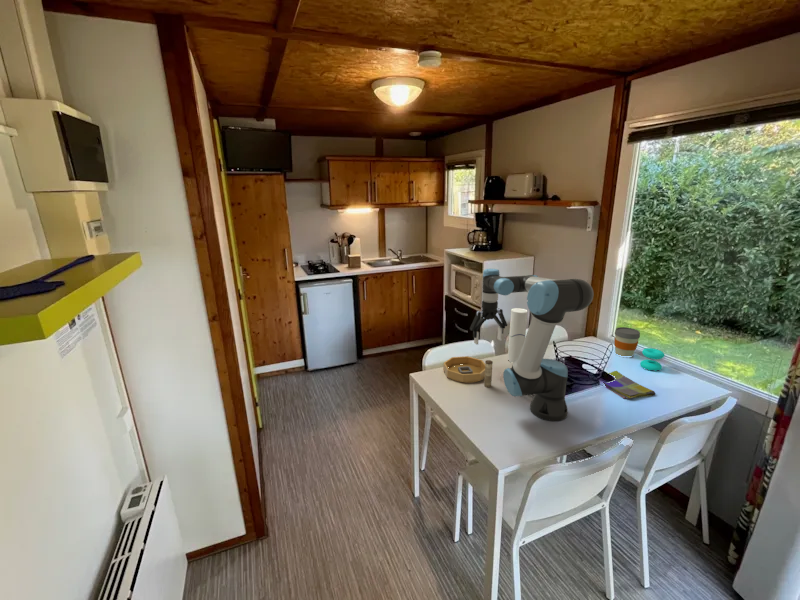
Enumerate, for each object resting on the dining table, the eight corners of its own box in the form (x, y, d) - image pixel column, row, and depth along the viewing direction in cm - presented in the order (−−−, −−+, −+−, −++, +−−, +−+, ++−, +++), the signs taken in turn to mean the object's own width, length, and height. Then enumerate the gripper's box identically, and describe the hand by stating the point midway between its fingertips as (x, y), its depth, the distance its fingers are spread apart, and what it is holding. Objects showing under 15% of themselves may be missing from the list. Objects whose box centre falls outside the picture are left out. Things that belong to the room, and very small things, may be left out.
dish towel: (616, 373, 198) (617, 369, 197) (658, 396, 175) (659, 391, 174) (588, 378, 194) (589, 373, 193) (627, 402, 171) (628, 396, 170)
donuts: (647, 345, 207) (667, 351, 199) (644, 362, 210) (664, 368, 202) (639, 350, 201) (660, 356, 194) (636, 367, 204) (657, 373, 196)
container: (525, 363, 210) (529, 312, 202) (509, 363, 210) (513, 312, 202) (520, 357, 218) (524, 308, 210) (506, 357, 218) (509, 308, 210)
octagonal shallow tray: (492, 381, 190) (492, 372, 189) (450, 384, 188) (450, 375, 187) (478, 363, 211) (478, 355, 210) (440, 365, 209) (440, 358, 207)
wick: (492, 387, 185) (493, 362, 181) (485, 387, 184) (486, 363, 181) (489, 383, 188) (491, 360, 184) (483, 384, 187) (484, 360, 184)
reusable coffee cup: (640, 355, 218) (644, 331, 214) (629, 361, 212) (633, 336, 208) (619, 348, 228) (622, 325, 224) (607, 353, 222) (610, 329, 218)
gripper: (506, 296, 189) (504, 336, 195) (463, 301, 181) (462, 342, 186) (516, 299, 183) (513, 340, 188) (471, 305, 174) (470, 347, 180)
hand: (488, 341), depth 187 cm, fingers open, 13 cm apart
